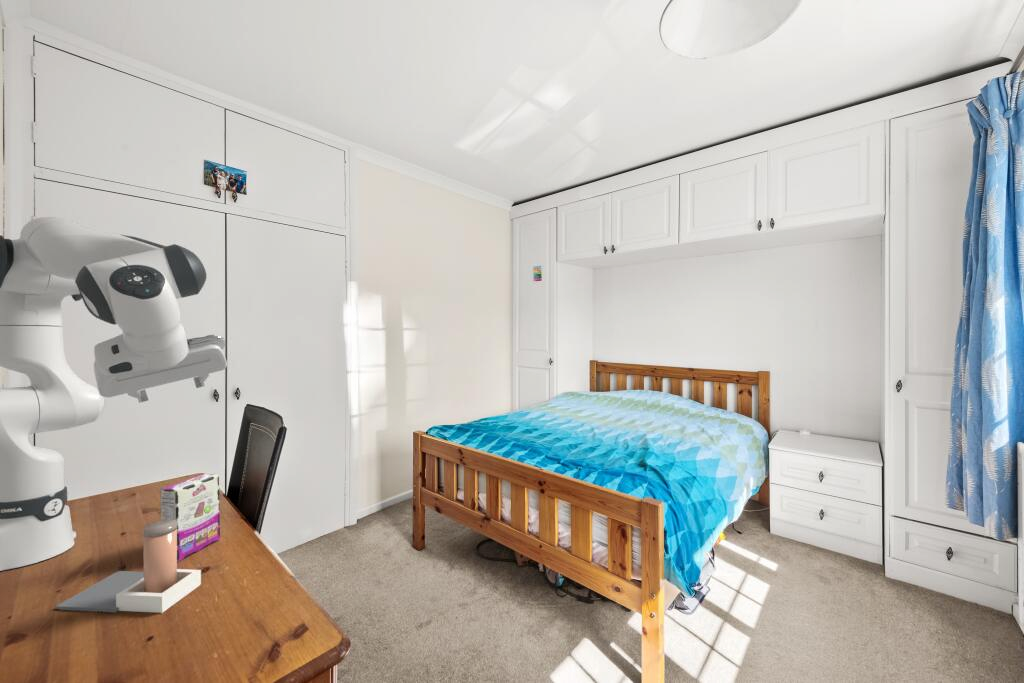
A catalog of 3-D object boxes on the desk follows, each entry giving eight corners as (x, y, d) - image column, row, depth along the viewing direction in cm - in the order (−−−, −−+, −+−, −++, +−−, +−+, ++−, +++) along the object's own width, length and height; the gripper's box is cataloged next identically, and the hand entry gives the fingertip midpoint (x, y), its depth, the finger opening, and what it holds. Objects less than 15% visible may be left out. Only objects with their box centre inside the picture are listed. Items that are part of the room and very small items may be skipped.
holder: (116, 610, 79) (116, 594, 79) (159, 582, 88) (159, 568, 88) (162, 612, 78) (162, 596, 78) (200, 584, 87) (200, 569, 87)
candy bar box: (204, 537, 108) (204, 472, 107) (220, 539, 107) (220, 474, 106) (159, 560, 97) (159, 488, 96) (177, 562, 96) (177, 490, 95)
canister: (135, 604, 81) (135, 531, 80) (159, 588, 86) (159, 519, 86) (161, 605, 80) (161, 532, 80) (184, 589, 86) (184, 520, 85)
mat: (55, 609, 79) (55, 606, 79) (118, 573, 91) (118, 570, 91) (115, 612, 78) (116, 609, 78) (171, 575, 90) (171, 573, 90)
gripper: (218, 323, 88) (226, 367, 96) (81, 347, 75) (105, 396, 84) (227, 343, 85) (234, 387, 94) (87, 372, 72) (110, 420, 81)
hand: (172, 391), depth 88 cm, fingers open, 8 cm apart
